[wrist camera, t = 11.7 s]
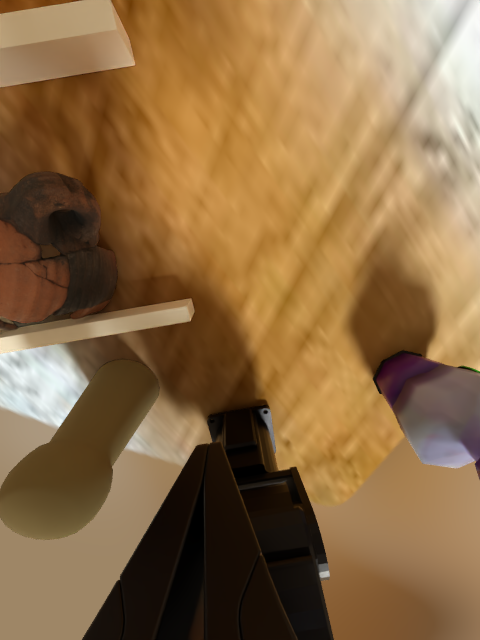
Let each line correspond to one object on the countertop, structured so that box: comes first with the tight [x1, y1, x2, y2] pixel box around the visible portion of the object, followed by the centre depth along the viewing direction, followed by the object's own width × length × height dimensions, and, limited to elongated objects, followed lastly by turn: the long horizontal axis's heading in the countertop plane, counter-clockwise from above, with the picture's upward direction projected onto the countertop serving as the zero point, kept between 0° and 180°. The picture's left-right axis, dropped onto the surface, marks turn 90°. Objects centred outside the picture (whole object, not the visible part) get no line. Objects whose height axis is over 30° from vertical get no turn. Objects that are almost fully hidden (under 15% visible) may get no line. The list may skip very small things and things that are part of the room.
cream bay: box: [0, 0, 195, 354], centre depth 15 cm, size 17×16×2 cm
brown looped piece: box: [0, 172, 118, 331], centre depth 15 cm, size 12×10×8 cm
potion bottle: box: [373, 350, 480, 479], centre depth 17 cm, size 9×9×12 cm
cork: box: [0, 359, 160, 540], centre depth 16 cm, size 6×6×11 cm
